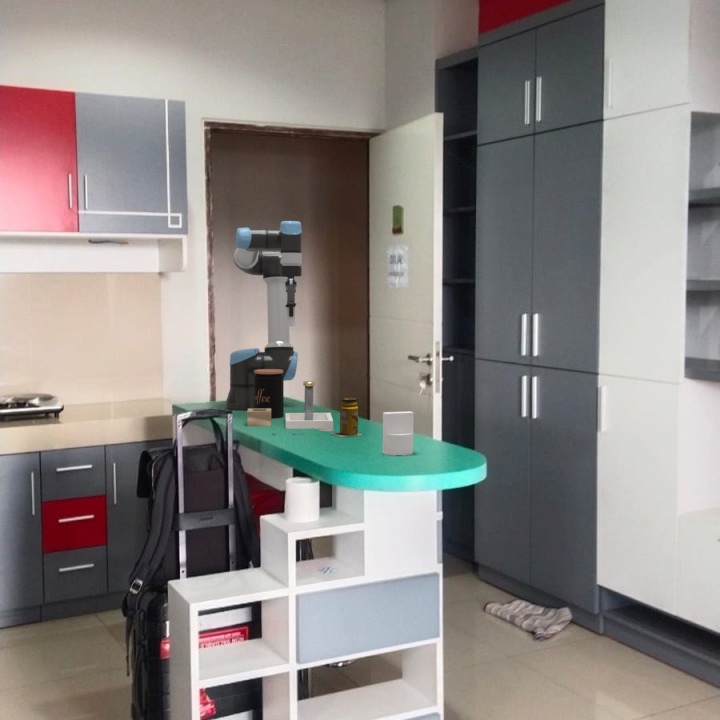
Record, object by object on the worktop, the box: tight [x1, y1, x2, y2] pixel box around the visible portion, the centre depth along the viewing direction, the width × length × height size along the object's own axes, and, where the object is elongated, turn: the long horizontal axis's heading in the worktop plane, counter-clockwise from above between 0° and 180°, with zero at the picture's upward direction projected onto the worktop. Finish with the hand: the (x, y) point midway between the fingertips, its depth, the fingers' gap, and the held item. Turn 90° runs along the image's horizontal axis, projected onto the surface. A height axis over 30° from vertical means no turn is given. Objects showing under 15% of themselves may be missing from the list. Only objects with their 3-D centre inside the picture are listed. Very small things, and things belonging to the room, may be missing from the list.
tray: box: [284, 412, 334, 432], centre depth 330 cm, size 20×16×4 cm
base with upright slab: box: [382, 410, 414, 456], centre depth 281 cm, size 9×9×12 cm
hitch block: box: [246, 408, 272, 427], centre depth 328 cm, size 8×8×6 cm
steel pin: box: [302, 380, 316, 420], centre depth 329 cm, size 4×4×15 cm
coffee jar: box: [254, 369, 285, 420], centre depth 347 cm, size 11×11×18 cm
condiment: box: [330, 397, 363, 438], centre depth 314 cm, size 7×8×12 cm
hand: (290, 325), depth 338 cm, fingers open, 13 cm apart
